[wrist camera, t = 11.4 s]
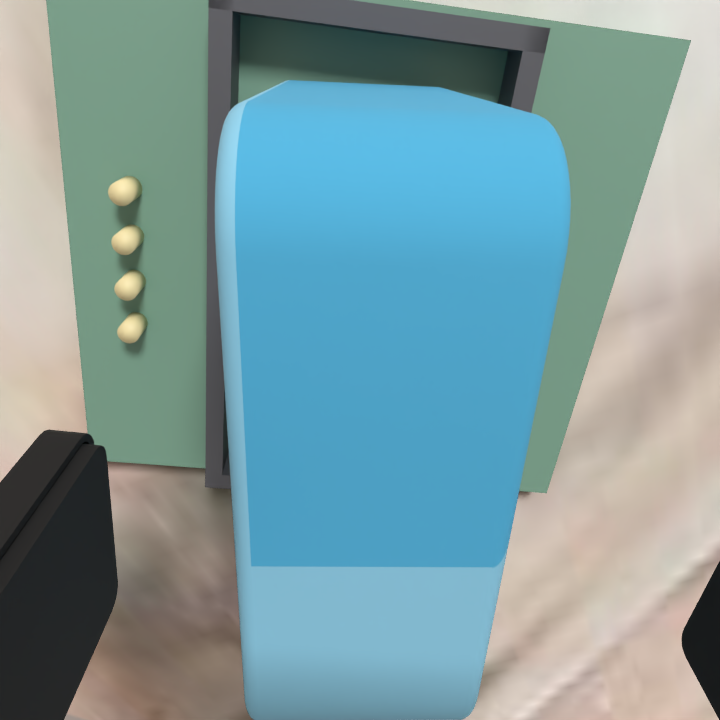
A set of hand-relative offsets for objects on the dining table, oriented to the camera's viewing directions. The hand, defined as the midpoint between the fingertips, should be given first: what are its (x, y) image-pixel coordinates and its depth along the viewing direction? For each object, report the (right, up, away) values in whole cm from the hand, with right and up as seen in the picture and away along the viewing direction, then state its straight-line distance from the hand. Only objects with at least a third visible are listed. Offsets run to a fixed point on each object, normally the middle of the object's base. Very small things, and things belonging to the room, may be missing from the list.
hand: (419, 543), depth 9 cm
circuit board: (-1, +6, +12) cm, 14 cm away
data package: (-1, +6, +11) cm, 13 cm away
